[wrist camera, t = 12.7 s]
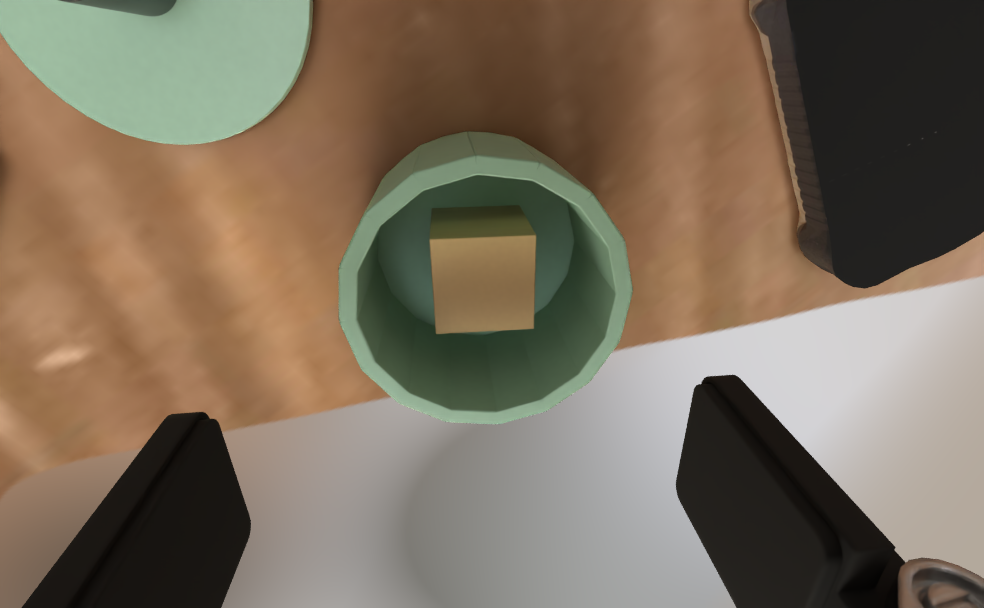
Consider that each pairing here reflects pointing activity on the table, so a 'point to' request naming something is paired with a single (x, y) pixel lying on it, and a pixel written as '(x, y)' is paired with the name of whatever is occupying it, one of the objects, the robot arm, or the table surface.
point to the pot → (489, 354)
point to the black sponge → (879, 127)
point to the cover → (164, 60)
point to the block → (482, 269)
